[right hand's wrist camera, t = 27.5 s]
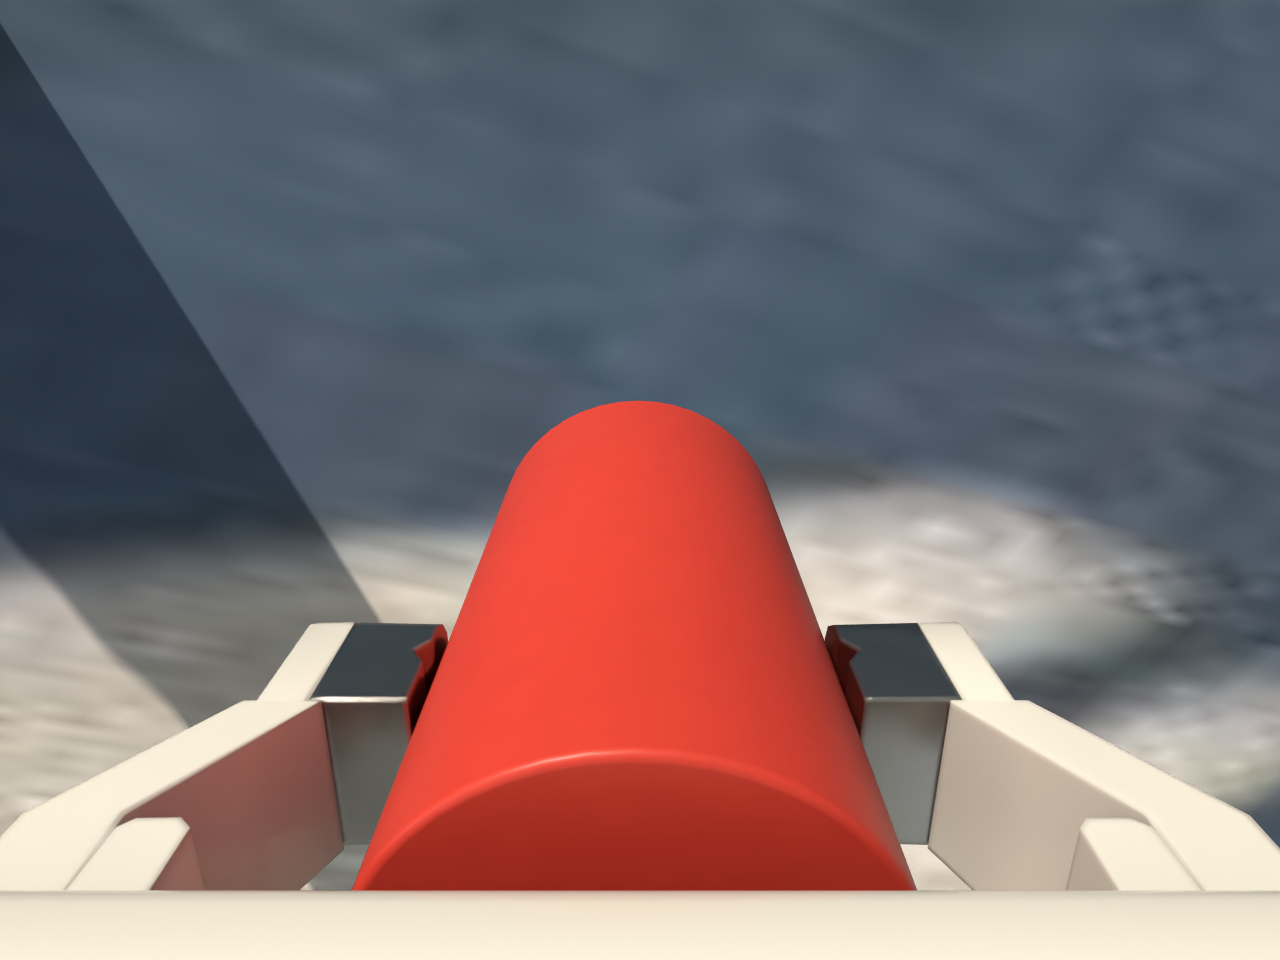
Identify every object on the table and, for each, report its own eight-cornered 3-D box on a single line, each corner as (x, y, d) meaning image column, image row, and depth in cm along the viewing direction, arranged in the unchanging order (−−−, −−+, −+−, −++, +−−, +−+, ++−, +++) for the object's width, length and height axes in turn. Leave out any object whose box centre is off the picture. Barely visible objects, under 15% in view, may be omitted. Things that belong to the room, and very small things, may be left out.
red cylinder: (795, 417, 14) (1008, 789, 6) (748, 658, 15) (864, 1210, 7) (512, 384, 13) (330, 720, 6) (495, 632, 15) (332, 1168, 7)
